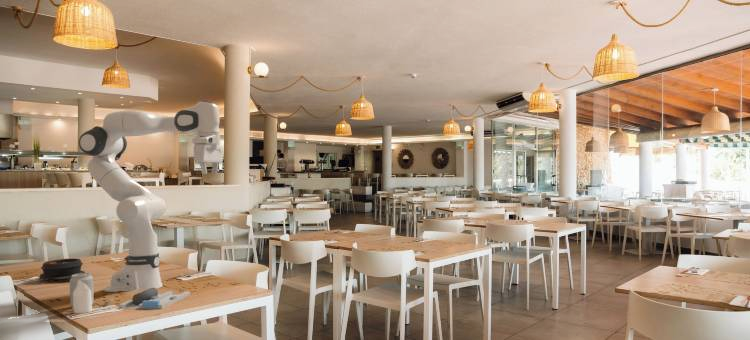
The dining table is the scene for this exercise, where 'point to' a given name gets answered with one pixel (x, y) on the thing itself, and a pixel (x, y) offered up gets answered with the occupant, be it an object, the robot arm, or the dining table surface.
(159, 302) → the grey shallow tray
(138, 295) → the dark grey capsule
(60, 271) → the casserole
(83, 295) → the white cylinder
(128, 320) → the dining table surface
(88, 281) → the can
